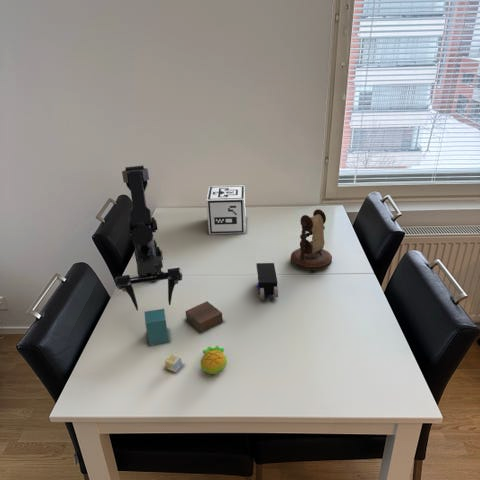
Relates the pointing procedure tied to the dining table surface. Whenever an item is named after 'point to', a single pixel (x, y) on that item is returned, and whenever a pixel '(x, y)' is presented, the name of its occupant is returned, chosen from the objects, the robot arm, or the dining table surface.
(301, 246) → the brown upright piece
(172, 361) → the alphabet block
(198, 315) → the walnut base
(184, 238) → the dining table surface
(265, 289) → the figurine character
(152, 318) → the teal block
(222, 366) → the toy pineapple
